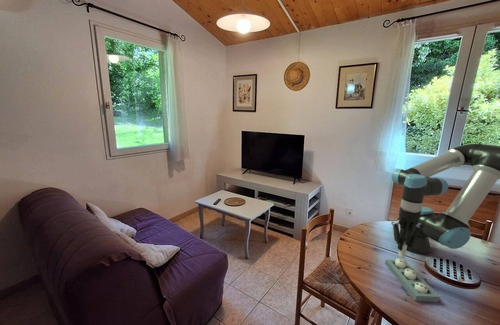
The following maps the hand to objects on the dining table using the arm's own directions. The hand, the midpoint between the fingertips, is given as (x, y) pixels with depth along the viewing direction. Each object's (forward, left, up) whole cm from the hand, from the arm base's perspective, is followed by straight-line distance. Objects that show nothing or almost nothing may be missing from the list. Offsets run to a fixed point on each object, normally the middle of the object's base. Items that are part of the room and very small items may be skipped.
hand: (401, 255), depth 103 cm
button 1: (0, 0, -6) cm, 6 cm away
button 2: (0, +7, -6) cm, 9 cm away
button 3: (0, +14, -7) cm, 16 cm away
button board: (0, +7, -8) cm, 10 cm away
